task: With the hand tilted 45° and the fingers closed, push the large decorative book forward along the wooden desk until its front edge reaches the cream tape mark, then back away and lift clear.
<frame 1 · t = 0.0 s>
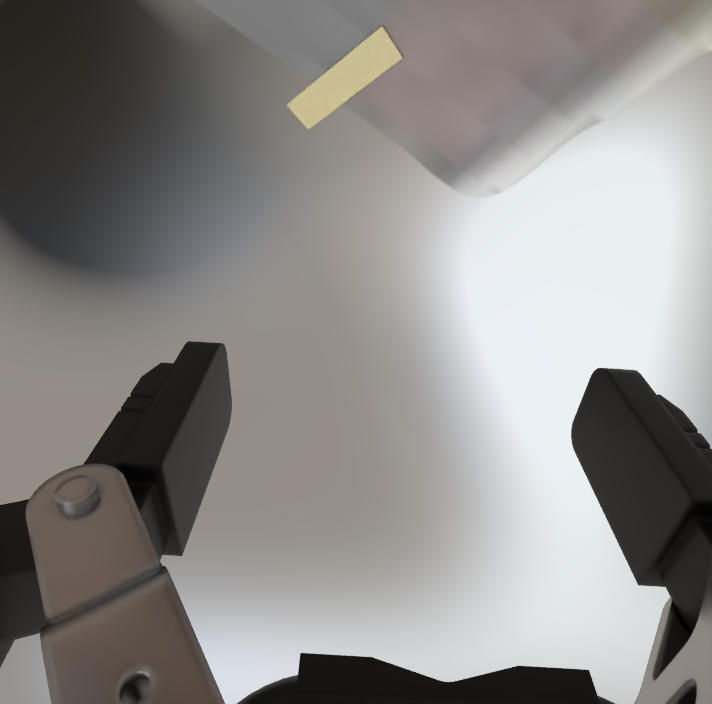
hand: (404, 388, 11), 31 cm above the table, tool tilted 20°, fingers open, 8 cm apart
tape mark: (342, 81, 36), on the table
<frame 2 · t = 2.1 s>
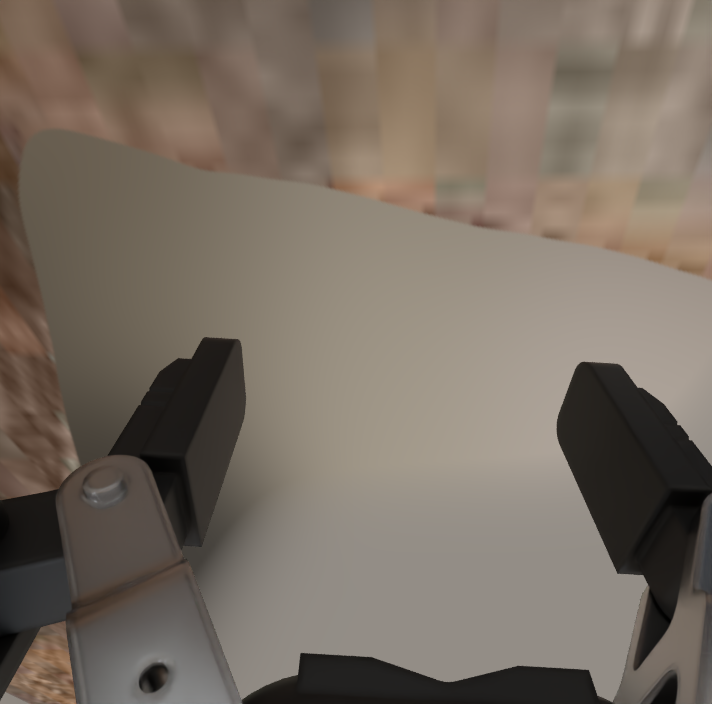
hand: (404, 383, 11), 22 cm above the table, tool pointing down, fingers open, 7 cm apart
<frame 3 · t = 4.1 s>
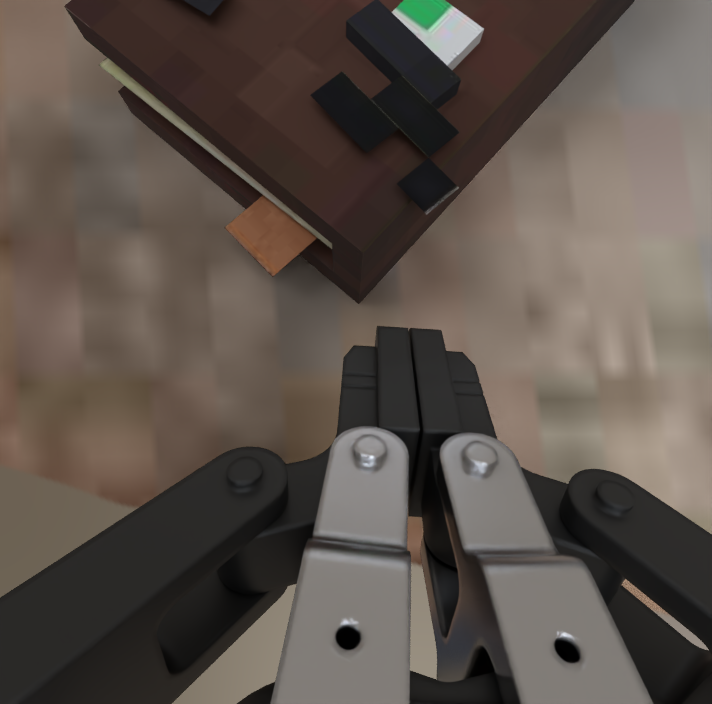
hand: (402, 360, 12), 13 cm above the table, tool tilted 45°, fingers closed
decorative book: (391, 58, 29), on the table
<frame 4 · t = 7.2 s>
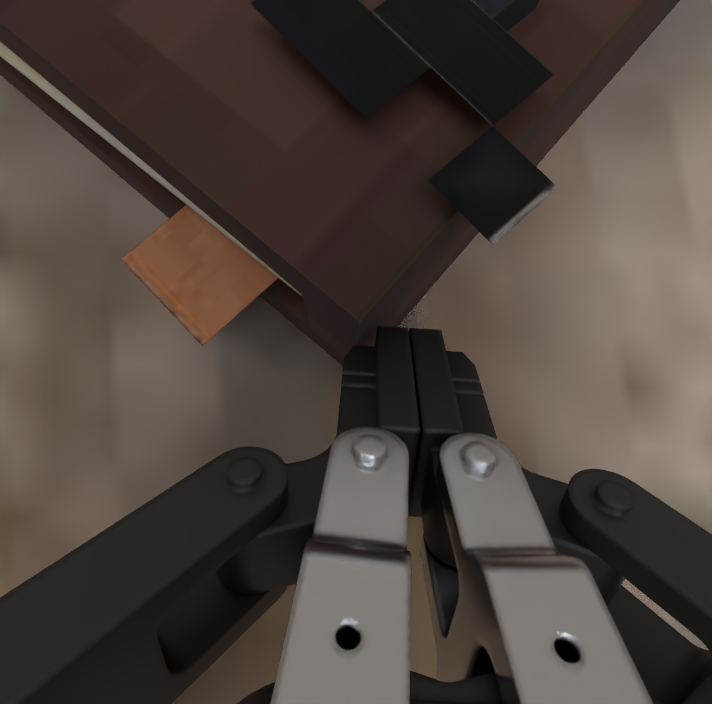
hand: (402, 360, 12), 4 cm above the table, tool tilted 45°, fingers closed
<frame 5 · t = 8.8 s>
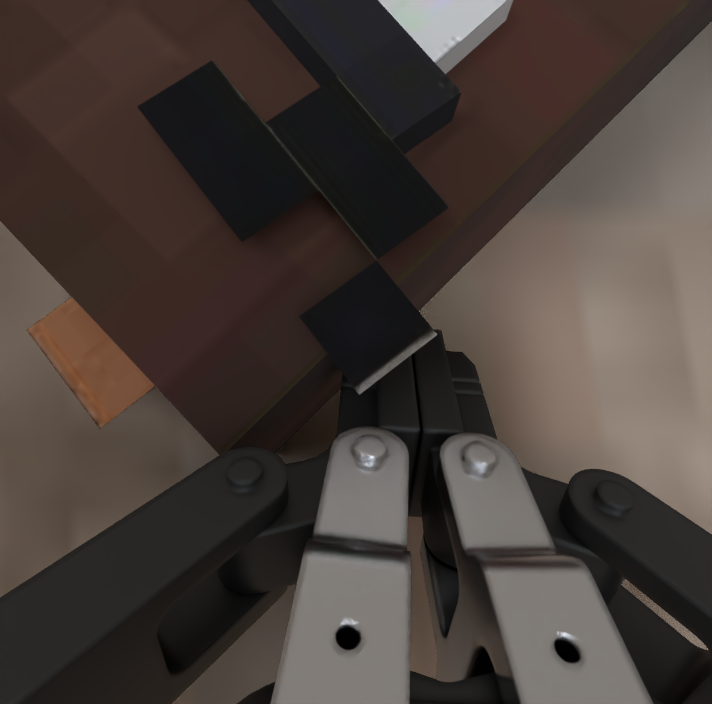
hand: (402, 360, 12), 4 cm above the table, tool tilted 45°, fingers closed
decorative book: (366, 49, 18), on the table, touching gripper
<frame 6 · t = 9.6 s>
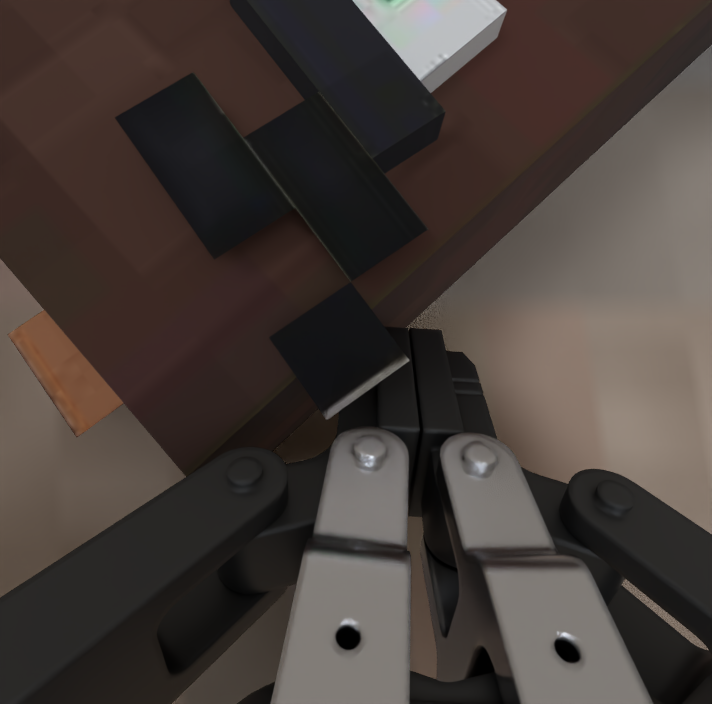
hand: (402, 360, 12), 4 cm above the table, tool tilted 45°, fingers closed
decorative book: (365, 58, 18), on the table, touching gripper
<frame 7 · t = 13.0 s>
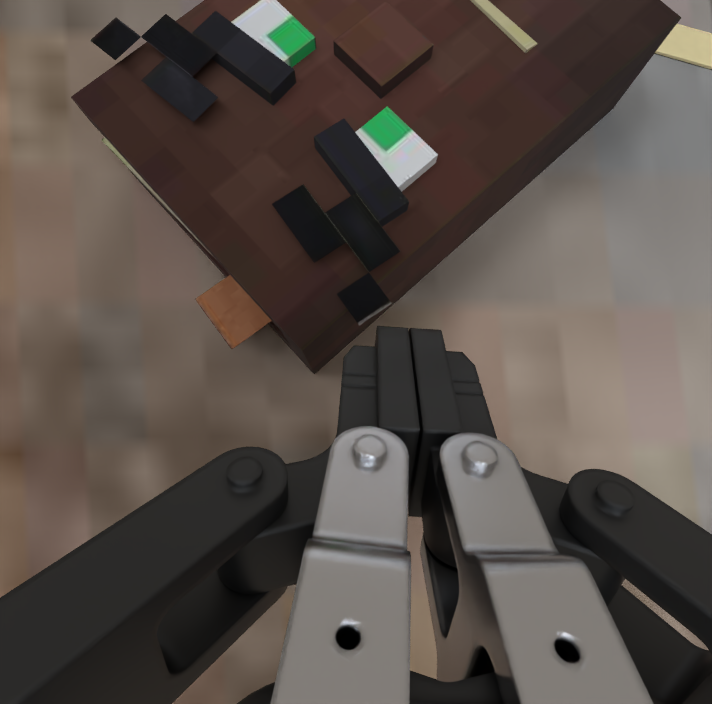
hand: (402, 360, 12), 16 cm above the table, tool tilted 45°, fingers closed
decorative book: (376, 143, 31), on the table
tape mark: (694, 48, 32), on the table
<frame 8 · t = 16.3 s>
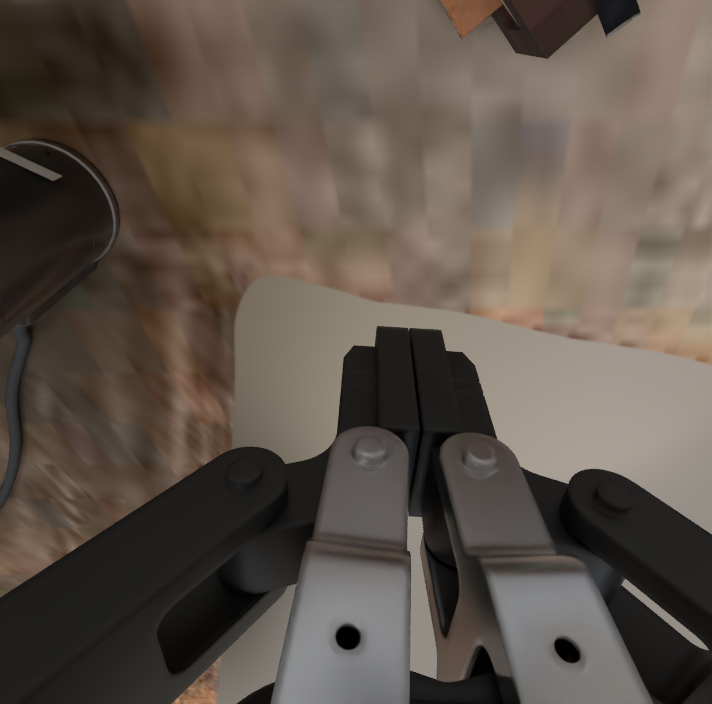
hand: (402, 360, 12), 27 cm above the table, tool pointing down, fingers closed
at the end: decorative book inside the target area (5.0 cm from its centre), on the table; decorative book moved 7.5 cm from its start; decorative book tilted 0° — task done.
